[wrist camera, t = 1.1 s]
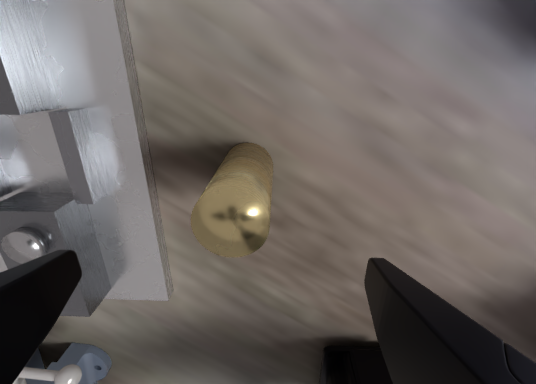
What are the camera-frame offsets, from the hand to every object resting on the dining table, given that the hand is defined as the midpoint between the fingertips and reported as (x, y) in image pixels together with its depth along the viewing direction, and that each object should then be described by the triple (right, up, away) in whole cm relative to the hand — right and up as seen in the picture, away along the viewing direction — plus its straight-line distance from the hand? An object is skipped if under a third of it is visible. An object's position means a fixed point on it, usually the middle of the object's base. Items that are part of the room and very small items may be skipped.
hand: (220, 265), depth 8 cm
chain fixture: (-12, +5, +8) cm, 15 cm away
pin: (0, +4, +8) cm, 9 cm away
